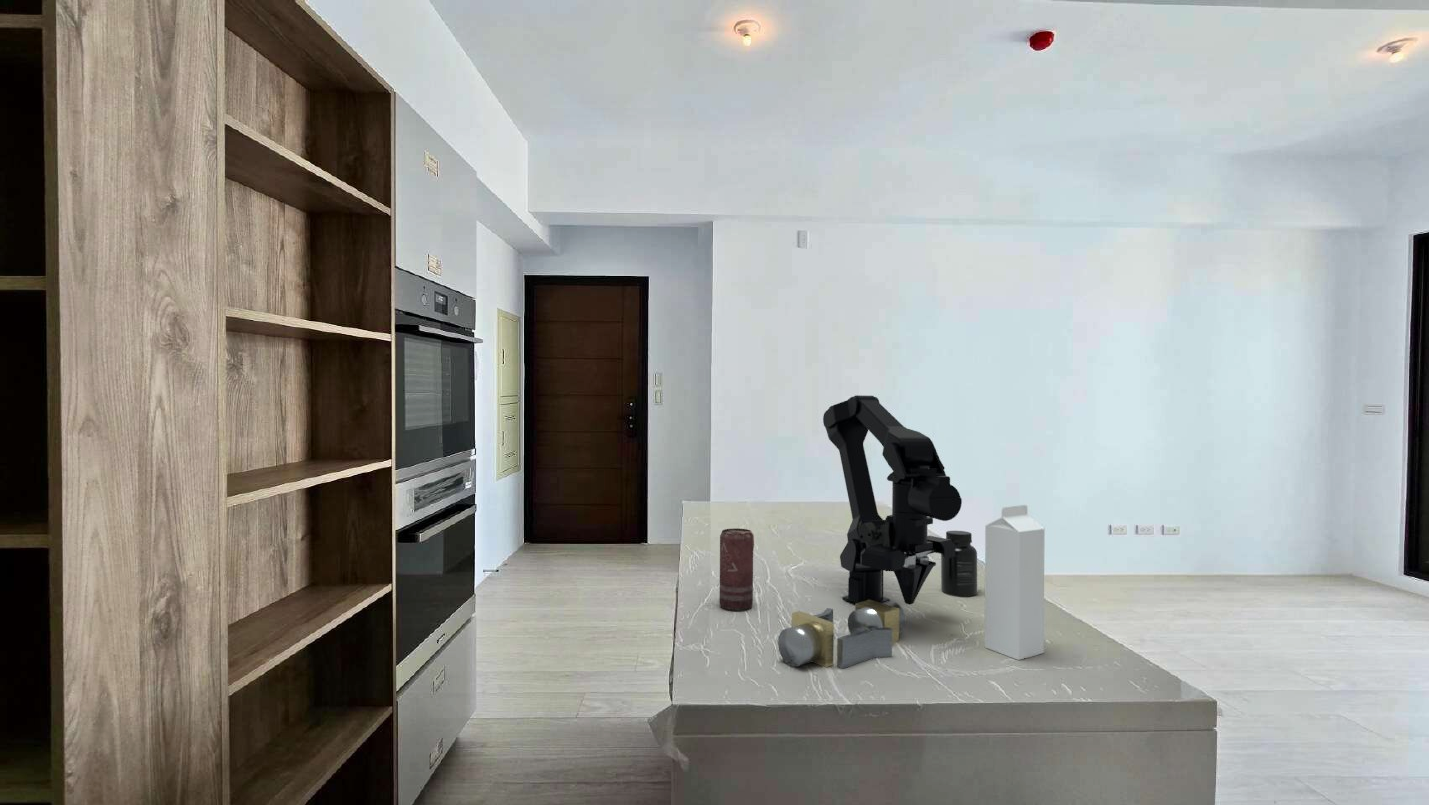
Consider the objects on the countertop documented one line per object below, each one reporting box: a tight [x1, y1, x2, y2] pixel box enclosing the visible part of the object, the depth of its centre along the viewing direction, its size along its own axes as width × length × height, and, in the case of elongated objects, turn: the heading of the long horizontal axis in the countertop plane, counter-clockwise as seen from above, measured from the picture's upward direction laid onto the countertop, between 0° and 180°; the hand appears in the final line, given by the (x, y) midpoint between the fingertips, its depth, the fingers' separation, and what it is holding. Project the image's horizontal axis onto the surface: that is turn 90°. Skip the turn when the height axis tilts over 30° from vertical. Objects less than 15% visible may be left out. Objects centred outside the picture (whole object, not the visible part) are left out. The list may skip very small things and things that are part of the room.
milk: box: [984, 504, 1046, 661], centre depth 101 cm, size 6×6×22 cm
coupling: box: [777, 607, 893, 670], centre depth 99 cm, size 15×13×6 cm
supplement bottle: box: [940, 530, 978, 597], centre depth 133 cm, size 7×7×12 cm
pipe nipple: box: [847, 600, 907, 644], centre depth 106 cm, size 8×6×5 cm
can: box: [718, 527, 755, 612], centre depth 122 cm, size 6×6×14 cm
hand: (909, 603), depth 111 cm, fingers closed
